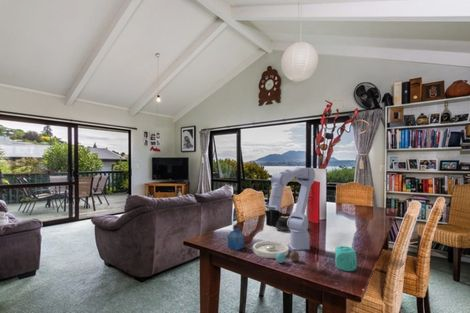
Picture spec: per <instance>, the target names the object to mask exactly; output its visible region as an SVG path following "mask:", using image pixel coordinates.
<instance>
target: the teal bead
mask: <svg viewBox="0 0 470 313" xmlns="http://www.w3.org/2000/svg"><path fill="white" fill-rule="evenodd" d="M275 260H276V262H278V263H279V264H283V263H284V262H285V261H286V256H285V255H284V254H283V253H278V254H277V255H276V258H275Z"/></svg>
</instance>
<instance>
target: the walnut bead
mask: <svg viewBox="0 0 470 313" xmlns="http://www.w3.org/2000/svg"><path fill="white" fill-rule="evenodd" d="M289 259H290V260H291V261H292V262H297V261H298V260H300V255H299V253H298V251H297V250H292V251H290V253H289Z"/></svg>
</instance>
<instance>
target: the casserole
mask: <svg viewBox="0 0 470 313" xmlns="http://www.w3.org/2000/svg"><path fill="white" fill-rule="evenodd" d="M290 214H291V213H282V215H281V216H280V218H279V219H278V222H277V224H276V226H275V227H274V228H276V229H277V230H283V231H290V230H289V228H288V226H287V221H288V219H289V217H290Z"/></svg>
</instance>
